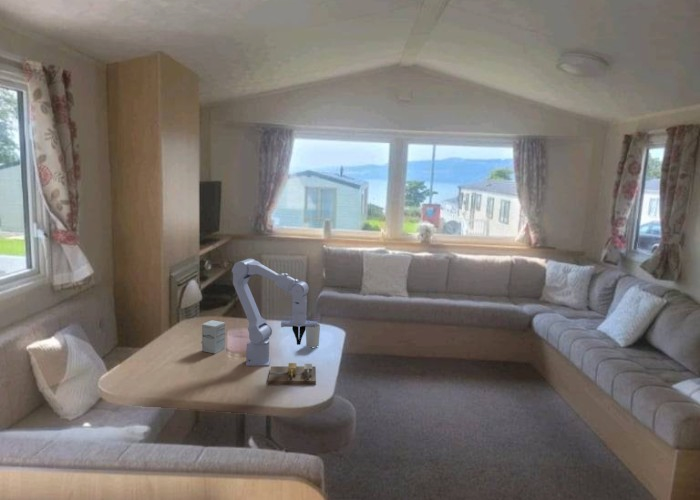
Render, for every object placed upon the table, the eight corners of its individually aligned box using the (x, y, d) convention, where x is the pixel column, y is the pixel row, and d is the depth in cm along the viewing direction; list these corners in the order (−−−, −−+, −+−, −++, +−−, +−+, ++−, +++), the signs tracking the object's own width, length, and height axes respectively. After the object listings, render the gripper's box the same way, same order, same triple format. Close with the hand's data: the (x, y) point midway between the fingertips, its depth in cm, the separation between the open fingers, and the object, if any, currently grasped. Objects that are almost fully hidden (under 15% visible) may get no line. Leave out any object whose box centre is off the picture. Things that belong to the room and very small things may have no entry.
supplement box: (201, 351, 213) (201, 323, 211) (212, 346, 220) (212, 319, 218) (215, 354, 210) (215, 326, 208) (225, 349, 217) (225, 321, 215)
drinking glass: (317, 349, 221) (318, 328, 219) (303, 347, 222) (303, 326, 221) (321, 344, 227) (321, 323, 226) (307, 342, 229) (308, 322, 227)
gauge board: (268, 384, 182) (268, 373, 181) (270, 369, 196) (271, 359, 195) (315, 384, 183) (316, 373, 183) (315, 369, 197) (315, 359, 197)
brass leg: (287, 379, 183) (287, 371, 183) (288, 370, 192) (288, 363, 191) (295, 379, 184) (295, 371, 183) (296, 370, 192) (296, 363, 191)
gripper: (280, 314, 190) (280, 347, 192) (317, 314, 192) (316, 347, 194) (281, 309, 197) (281, 341, 199) (317, 309, 199) (316, 341, 201)
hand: (298, 343), depth 197 cm, fingers closed
